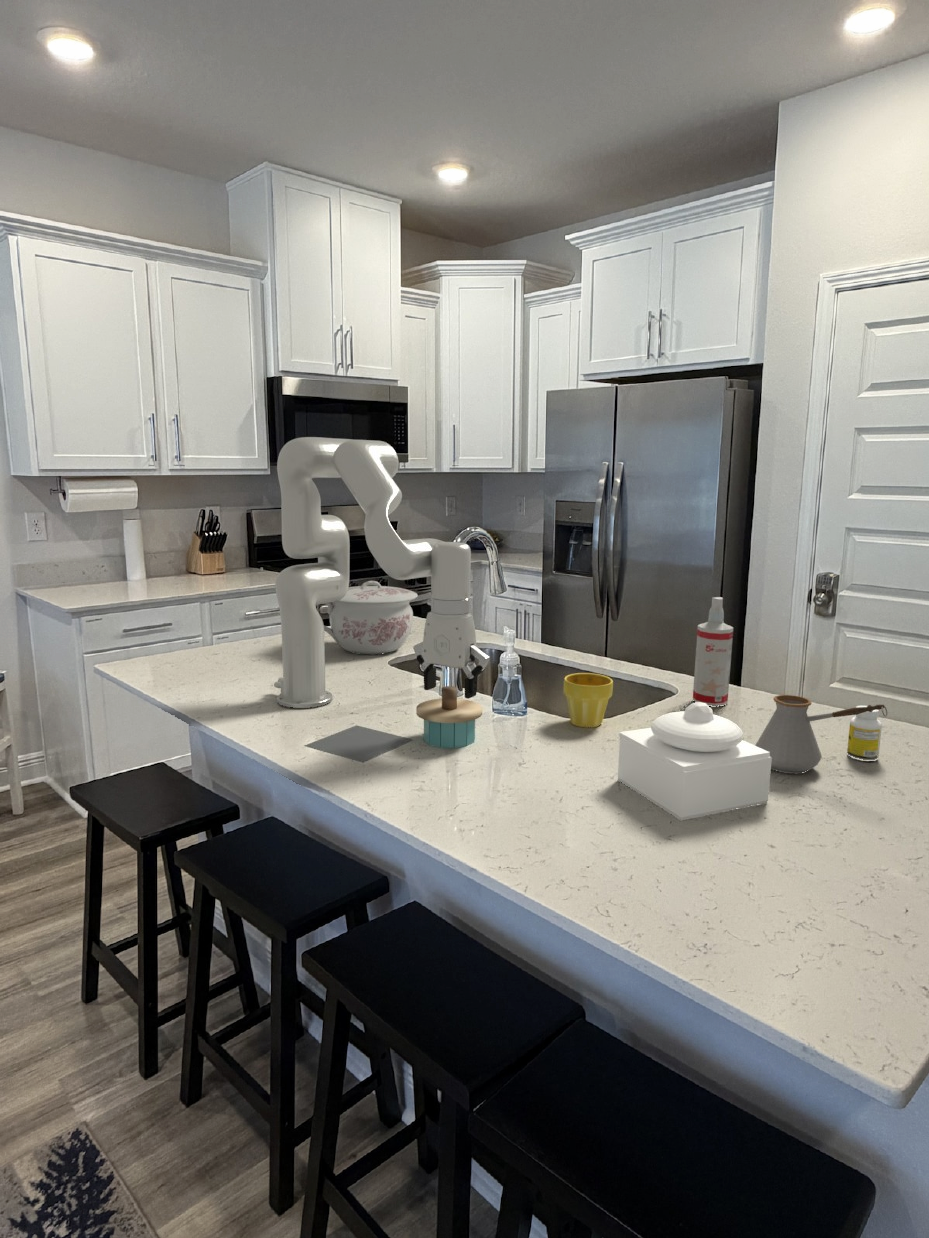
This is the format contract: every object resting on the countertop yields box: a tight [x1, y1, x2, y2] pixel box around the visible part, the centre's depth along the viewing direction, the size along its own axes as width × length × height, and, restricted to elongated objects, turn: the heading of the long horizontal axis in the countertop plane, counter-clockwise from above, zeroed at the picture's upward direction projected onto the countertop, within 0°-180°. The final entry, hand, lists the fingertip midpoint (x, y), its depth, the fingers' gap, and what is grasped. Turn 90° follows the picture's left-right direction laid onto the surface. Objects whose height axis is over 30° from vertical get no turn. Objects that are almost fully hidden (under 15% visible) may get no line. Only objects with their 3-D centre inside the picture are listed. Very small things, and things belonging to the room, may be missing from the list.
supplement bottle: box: [846, 705, 883, 760], centre depth 151 cm, size 5×5×10 cm
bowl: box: [423, 719, 476, 749], centre depth 157 cm, size 10×10×6 cm
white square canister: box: [617, 702, 772, 821], centre depth 133 cm, size 18×18×16 cm
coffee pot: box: [754, 694, 888, 774], centre depth 142 cm, size 21×12×15 cm, turn 49°
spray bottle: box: [692, 596, 734, 706], centre depth 184 cm, size 8×8×25 cm
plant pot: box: [563, 672, 614, 728], centre depth 169 cm, size 10×10×10 cm
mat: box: [303, 724, 414, 763], centre depth 155 cm, size 15×15×1 cm
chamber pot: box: [315, 580, 419, 655], centre depth 234 cm, size 28×28×21 cm
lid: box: [415, 685, 483, 723], centre depth 156 cm, size 13×13×5 cm
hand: (449, 692), depth 156 cm, fingers open, 9 cm apart
